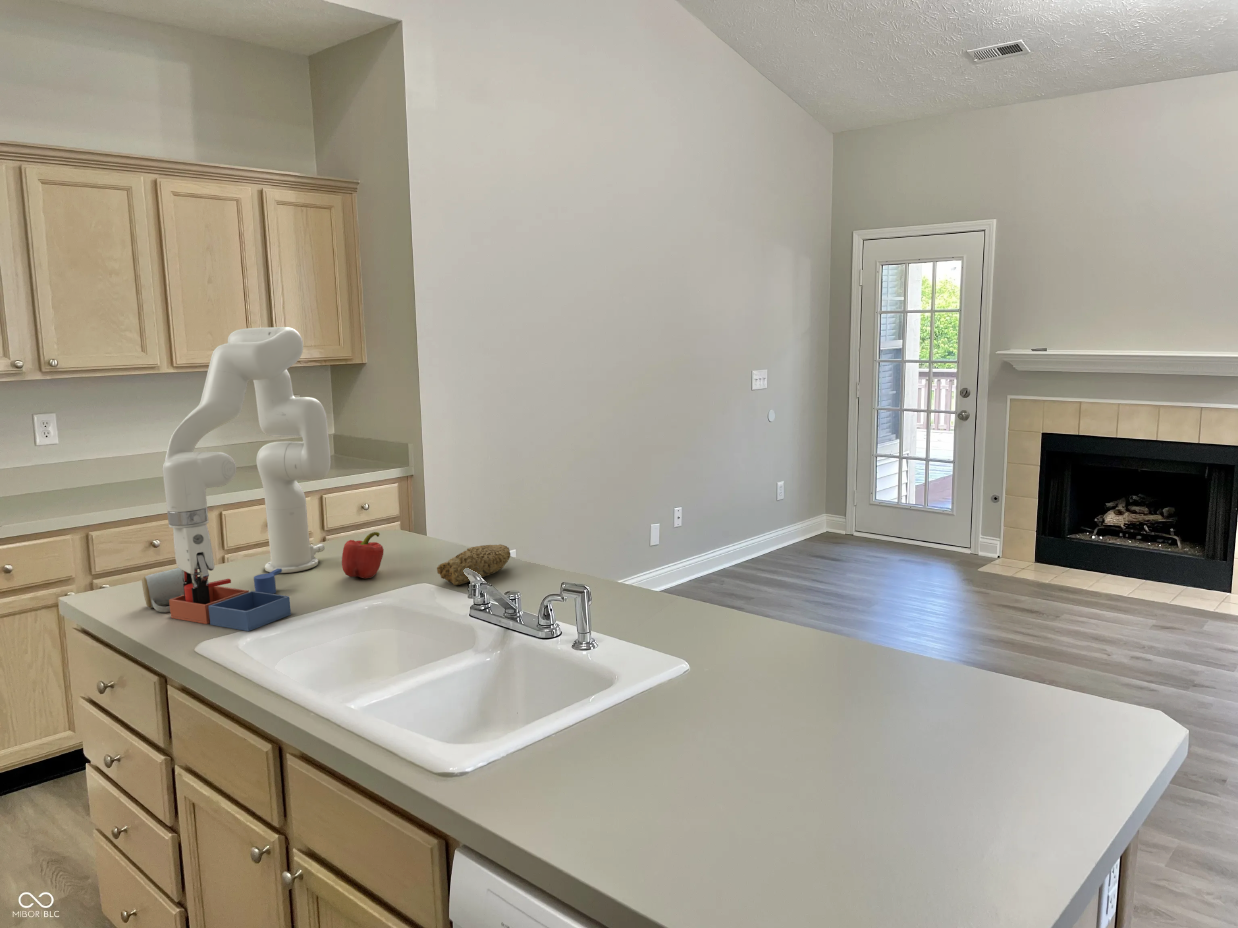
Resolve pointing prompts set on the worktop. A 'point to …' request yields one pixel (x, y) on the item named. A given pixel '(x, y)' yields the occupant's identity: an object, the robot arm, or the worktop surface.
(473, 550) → the sponge
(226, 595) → the red bin
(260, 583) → the blue scoop
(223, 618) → the blue bin
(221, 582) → the red scoop
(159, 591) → the ceramic mug
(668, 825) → the worktop surface
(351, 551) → the vegetable
